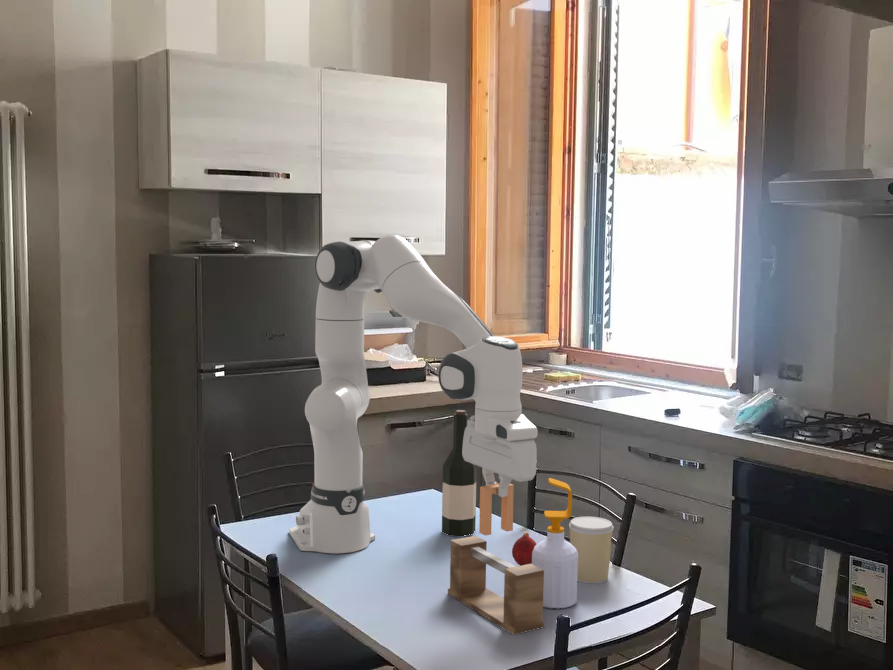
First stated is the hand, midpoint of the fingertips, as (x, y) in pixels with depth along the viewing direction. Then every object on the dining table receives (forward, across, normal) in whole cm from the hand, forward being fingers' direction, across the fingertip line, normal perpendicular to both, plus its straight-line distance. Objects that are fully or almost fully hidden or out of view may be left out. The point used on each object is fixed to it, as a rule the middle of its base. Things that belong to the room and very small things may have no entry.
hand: (496, 493), depth 181 cm
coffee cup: (+23, -5, +28) cm, 37 cm away
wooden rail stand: (+23, 0, 0) cm, 23 cm away
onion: (+23, -16, +19) cm, 34 cm away
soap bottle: (+23, +2, +13) cm, 27 cm away
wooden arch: (+7, 0, 0) cm, 7 cm away
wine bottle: (+23, -45, +20) cm, 54 cm away
